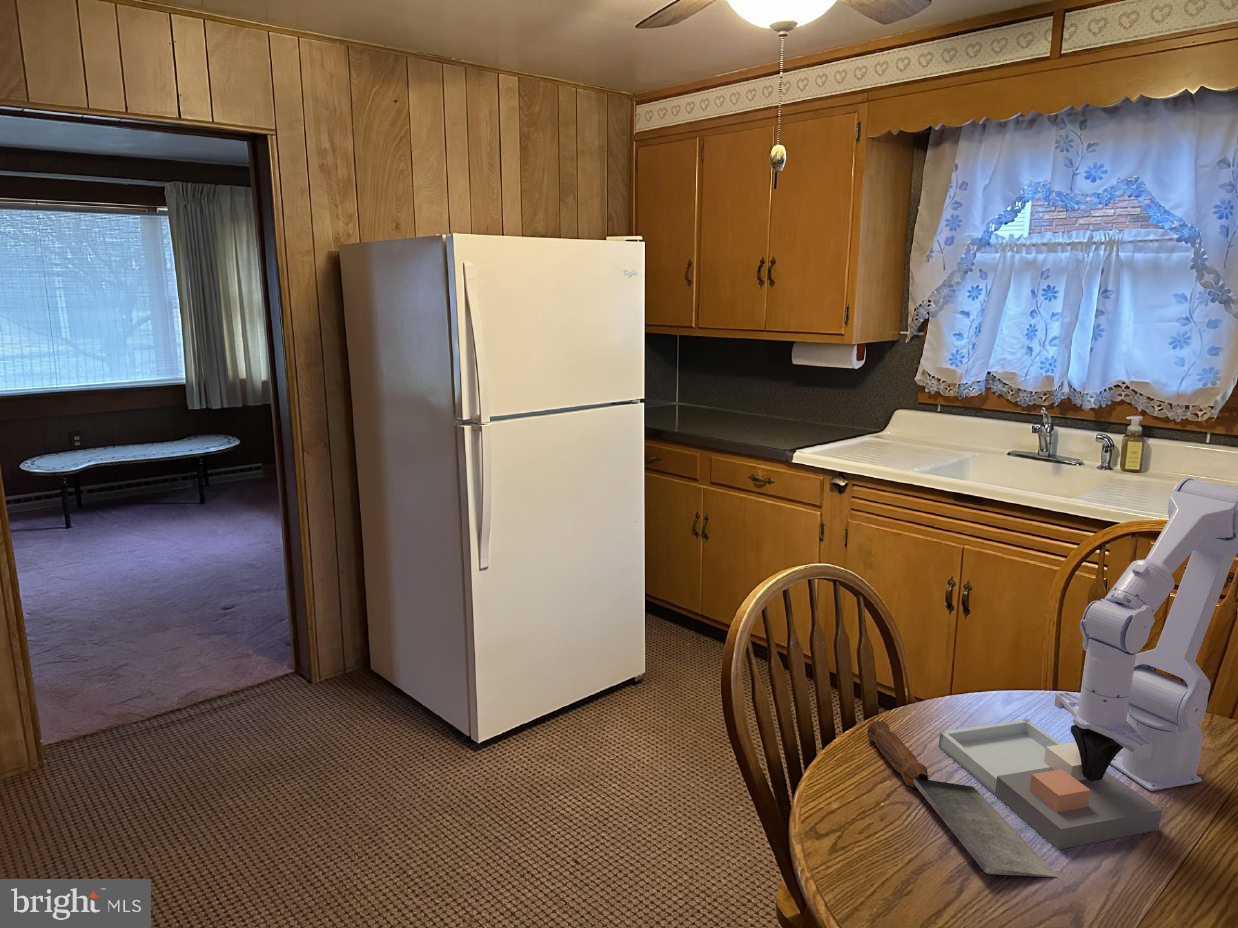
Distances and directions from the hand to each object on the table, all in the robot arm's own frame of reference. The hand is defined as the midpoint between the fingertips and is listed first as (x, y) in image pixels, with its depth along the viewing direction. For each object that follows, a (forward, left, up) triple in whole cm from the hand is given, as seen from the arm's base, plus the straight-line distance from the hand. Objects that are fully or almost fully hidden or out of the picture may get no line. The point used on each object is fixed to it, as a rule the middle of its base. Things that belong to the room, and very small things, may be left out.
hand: (1092, 777), depth 116 cm
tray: (+4, -11, -4) cm, 13 cm away
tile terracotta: (+7, +2, -1) cm, 7 cm away
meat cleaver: (+18, -6, -4) cm, 19 cm away
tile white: (0, -4, -1) cm, 4 cm away
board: (+4, +1, -4) cm, 5 cm away
